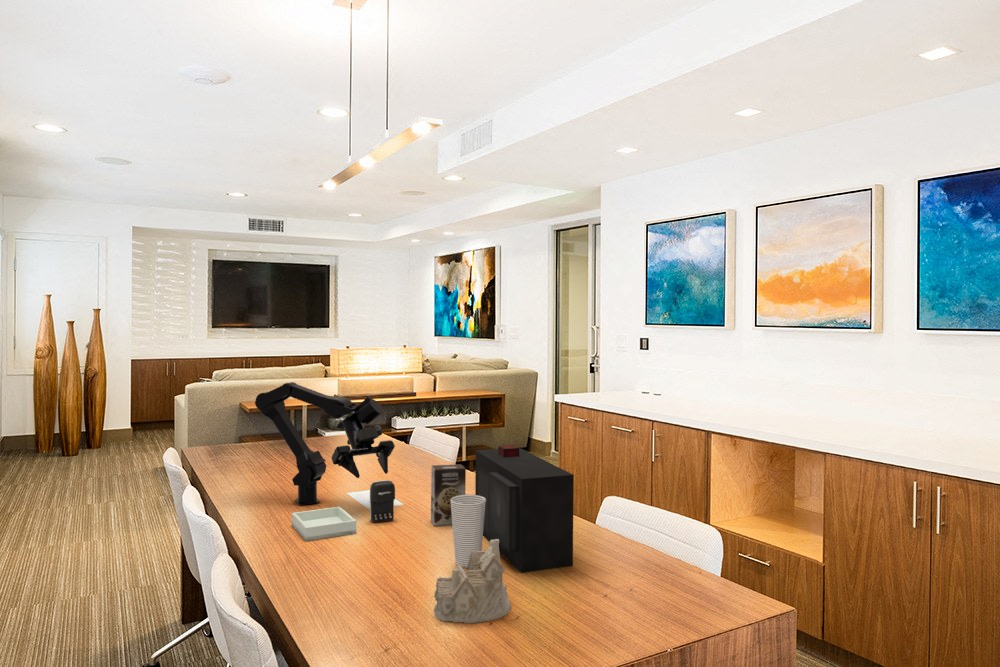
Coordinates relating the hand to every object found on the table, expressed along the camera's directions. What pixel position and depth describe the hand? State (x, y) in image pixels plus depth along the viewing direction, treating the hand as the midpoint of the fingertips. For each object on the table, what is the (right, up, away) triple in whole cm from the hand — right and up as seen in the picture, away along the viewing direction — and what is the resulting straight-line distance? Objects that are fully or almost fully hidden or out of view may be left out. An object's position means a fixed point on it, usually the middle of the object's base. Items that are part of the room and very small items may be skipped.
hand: (373, 475), depth 201 cm
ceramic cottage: (+32, -14, -62) cm, 71 cm away
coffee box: (+23, -13, -5) cm, 26 cm away
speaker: (+42, -13, -26) cm, 51 cm away
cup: (+30, -13, -38) cm, 50 cm away
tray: (-11, -12, -13) cm, 21 cm away
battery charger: (+4, -12, -5) cm, 14 cm away
